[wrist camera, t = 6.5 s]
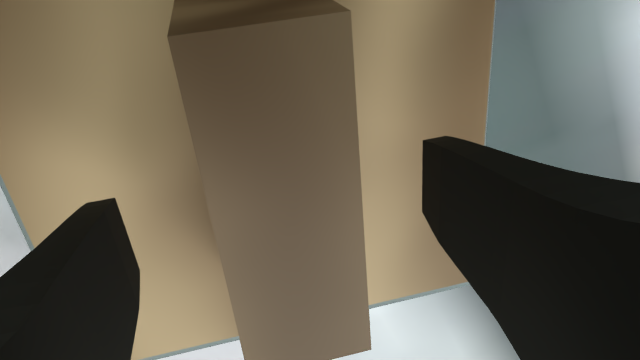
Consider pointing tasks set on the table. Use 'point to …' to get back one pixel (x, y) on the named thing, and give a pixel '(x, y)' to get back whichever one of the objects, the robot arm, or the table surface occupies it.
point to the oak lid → (246, 152)
